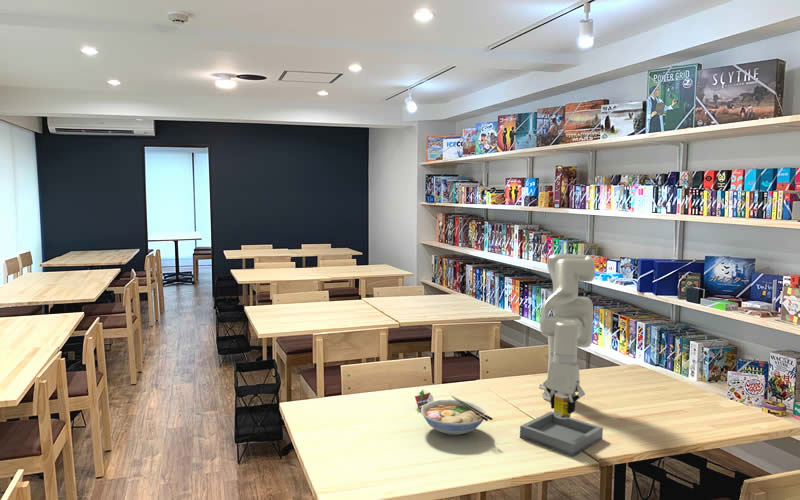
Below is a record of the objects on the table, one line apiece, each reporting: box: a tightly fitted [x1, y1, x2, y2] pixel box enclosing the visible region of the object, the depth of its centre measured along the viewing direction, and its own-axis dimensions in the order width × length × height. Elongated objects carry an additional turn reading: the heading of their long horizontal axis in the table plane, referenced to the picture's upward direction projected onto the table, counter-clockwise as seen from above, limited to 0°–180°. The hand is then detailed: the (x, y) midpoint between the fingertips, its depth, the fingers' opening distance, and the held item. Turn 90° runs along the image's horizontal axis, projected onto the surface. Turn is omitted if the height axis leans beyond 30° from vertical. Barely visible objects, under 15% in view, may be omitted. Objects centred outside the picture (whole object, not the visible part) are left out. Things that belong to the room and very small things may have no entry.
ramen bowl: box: [420, 395, 493, 436], centre depth 203 cm, size 25×23×8 cm
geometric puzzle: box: [414, 389, 434, 408], centre depth 225 cm, size 7×7×8 cm
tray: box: [519, 411, 604, 457], centre depth 199 cm, size 20×20×4 cm
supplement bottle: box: [553, 391, 572, 419], centre depth 198 cm, size 6×6×10 cm
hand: (562, 409), depth 198 cm, fingers closed on supplement bottle, 5 cm apart
